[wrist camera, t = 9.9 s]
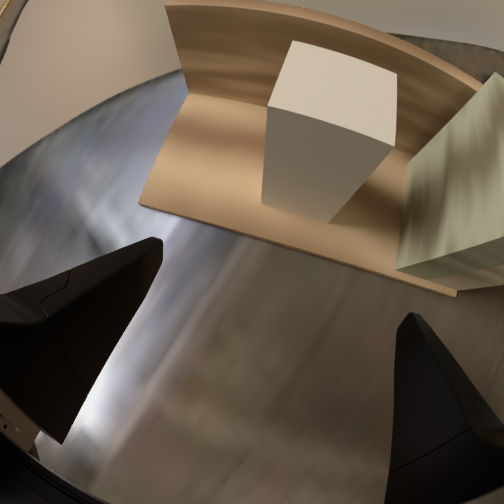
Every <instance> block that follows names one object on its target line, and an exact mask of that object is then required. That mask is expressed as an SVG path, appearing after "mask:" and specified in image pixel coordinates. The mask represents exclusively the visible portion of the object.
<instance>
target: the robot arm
mask: <svg viewBox="0 0 504 504" xmlns="http://www.w3.org/2000/svg"><path fill="white" fill-rule="evenodd" d="M162 261H163V241H162V240H161V239H159V238H155V237H149V238H147V239H144V240H141V241H139V242H136V243H134V244H131V245H128V246H126V247H123V248H121V249H118V250H116V251H113V252H111V253H108V254H106V255H103V256H101V257H98V258H96V259H93V260H91V261H89V262H86V263H84V264H81V265H79V266H77V267H74V268H72V269H71V270H67V271H65V272H62V273H60V274H58V275H55V276H53V277H50V278H48V279H45V280H42V281H40V282H37V283H34V284H31V285H28V286H26V287H23V288H20V289H17V290H14V291H12V292H9V293H6V294H1V295H0V504H110V503H108V502H106V501H104V500H102V499H100V498H98V497H96V496H95V495H93V494H91V493H89V492H87V491H85V490H84V489H82V488H80V487H79V486H77V485H75V484H73V483H72V482H70V481H69V480H67V479H65V478H64V477H62V476H61V475H59V474H58V473H56V472H55V471H53V470H52V469H50V468H49V467H47V466H46V465H45V464H43V463H42V462H40V460H39V456H38V453H37V449H36V446H35V442H34V441H35V439H36V437H37V435H38V433H39V432H40V430H41V431H42V432H44V433H45V434H46V435H48V436H49V437H51V438H52V439H54V440H55V441H57V442H58V443H60V444H61V445H62V444H63V442H64V440H65V438H66V436H67V434H68V432H69V430H70V428H71V426H72V424H73V422H74V421H75V419H76V417H77V415H78V413H79V411H80V409H81V407H82V405H83V403H84V401H85V400H86V398H87V395H88V394H89V392H90V390H91V388H92V386H93V385H94V383H95V381H96V379H97V377H98V376H99V374H100V372H101V370H102V369H103V367H104V365H105V363H106V362H107V360H108V358H109V356H110V355H111V353H112V351H113V350H114V348H115V346H116V345H117V343H118V341H119V340H120V338H121V336H122V335H123V333H124V331H125V330H126V328H127V326H128V325H129V323H130V321H131V320H132V318H133V317H134V315H135V313H136V312H137V310H138V309H139V307H140V305H141V304H142V302H143V300H144V299H145V297H146V295H147V293H148V291H149V289H150V287H151V285H152V283H153V281H154V278H155V276H156V274H157V272H158V270H159V268H160V266H161V264H162ZM469 380H470V379H469V378H468V376H467V375H466V374H465V372H464V371H463V369H462V368H461V367H460V365H459V364H458V363H457V361H456V360H455V358H454V357H453V356H452V354H451V353H450V352H449V351H448V349H447V348H446V347H445V345H444V344H443V343H442V341H441V340H440V339H439V338H438V336H437V335H436V334H435V332H434V331H433V330H432V329H431V327H430V326H429V325H428V324H427V322H426V321H425V320H424V319H423V318H422V316H421V315H420V314H417V313H413V312H410V313H408V314H407V316H406V317H405V319H404V320H403V321H402V323H401V324H400V325H399V327H398V329H397V333H396V350H395V364H394V416H393V434H392V448H391V458H390V467H389V472H390V473H389V475H388V482H387V489H386V496H385V502H384V504H504V425H503V424H502V423H501V421H500V420H499V419H498V417H497V416H496V415H495V413H494V412H493V411H492V409H491V408H490V407H489V405H488V404H487V403H486V401H485V400H484V399H483V397H482V396H481V395H480V393H479V392H478V390H477V389H476V388H475V386H474V385H473V383H472V382H471V381H469Z"/></svg>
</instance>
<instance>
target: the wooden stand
mask: <svg viewBox="0 0 504 504" xmlns="http://www.w3.org/2000/svg"><path fill="white" fill-rule="evenodd" d="M165 9H166V12H167V16H168V20H169V23H170V27H171V30H172V34H173V38H174V41H175V45H176V48H177V52H178V55H179V59H180V63H181V66H182V70H183V73H184V77H185V80H186V84H187V87H188V91H189V94H188V96H187V98H186V100H185V102H184V104H183V106H182V107H181V109H180V111H179V113H178V115H177V117H176V119H175V121H174V123H173V125H172V127H171V129H170V131H169V133H168V135H167V137H166V139H165V141H164V144H163V146H162V148H161V150H160V152H159V154H158V157H157V159H156V161H155V163H154V166H153V168H152V170H151V172H150V175H149V177H148V179H147V182H146V184H145V187H144V189H143V192H142V194H141V197H140V199H139V202H138V204H139V205H141V206H143V207H147V208H151V209H154V210H158V211H162V212H165V213H169V214H172V215H176V216H180V217H183V218H187V219H190V220H194V221H197V222H201V223H205V224H208V225H212V226H215V227H219V228H222V229H226V230H229V231H233V232H236V233H240V234H243V235H247V236H250V237H254V238H257V239H260V240H264V241H267V242H271V243H274V244H278V245H281V246H285V247H288V248H291V249H295V250H298V251H301V252H305V253H308V254H312V255H315V256H318V257H322V258H325V259H328V260H332V261H335V262H338V263H342V264H345V265H348V266H352V267H355V268H358V269H361V270H365V271H368V272H371V273H375V274H378V275H381V276H384V277H388V278H391V279H394V280H397V281H401V282H404V283H407V284H410V285H413V286H417V287H420V288H423V289H426V290H429V291H432V292H436V293H439V294H442V295H445V296H448V297H451V298H452V297H456V294H457V291H458V290H467V289H475V288H483V287H491V286H498V285H504V78H503V77H501V76H500V75H499V74H497V73H496V72H495V73H494V74H493V75H492V76H491V77H490V78H489V79H488V81H487V82H486V83H485V84H484V85H483V84H481V83H480V82H478V81H477V80H475V79H474V78H472V77H471V76H469V75H467V74H466V73H464V72H463V71H461V70H459V69H458V68H456V67H454V66H453V65H451V64H449V63H447V62H445V61H444V60H442V59H440V58H438V57H436V56H434V55H432V54H430V53H429V52H427V51H425V50H423V49H420V48H418V47H416V46H414V45H412V44H410V43H408V42H405V41H403V40H401V39H399V38H396V37H394V36H391V35H389V34H387V33H384V32H381V31H379V30H376V29H373V28H371V27H368V26H365V25H362V24H359V23H356V22H353V21H350V20H347V19H344V18H340V17H337V16H333V15H330V14H326V13H322V12H318V11H314V10H310V9H305V8H301V7H296V6H290V5H285V4H280V3H274V2H267V1H260V0H170V1H168V2H167V4H166V5H165ZM292 41H298V42H302V43H306V44H310V45H314V46H318V47H321V48H325V49H328V50H332V51H335V52H338V53H342V54H345V55H348V56H351V57H354V58H357V59H360V60H362V61H365V62H368V63H371V64H373V65H376V66H378V67H381V68H383V69H386V70H388V71H391V72H393V73H396V74H397V113H396V134H395V147H394V148H393V149H392V150H391V152H390V153H389V154H388V155H387V156H386V157H385V159H384V160H383V161H382V162H381V163H380V165H379V166H378V167H377V168H376V169H375V170H374V171H373V173H372V174H371V175H370V176H369V177H368V178H367V180H366V181H365V182H364V183H363V184H362V185H361V186H360V188H359V189H358V190H357V191H356V192H355V193H354V194H353V196H352V197H351V198H350V199H349V200H348V201H347V202H346V203H345V205H344V206H343V207H342V208H341V209H340V210H339V211H338V212H337V214H336V215H335V216H334V217H333V218H332V219H331V220H330V221H329V222H328V223H325V222H322V221H319V220H316V219H312V218H309V217H306V216H302V215H299V214H296V213H292V212H289V211H286V210H282V209H279V208H275V207H272V206H269V205H265V204H262V203H261V191H262V177H263V163H264V149H265V134H266V120H267V105H268V103H269V100H270V97H271V95H272V92H273V90H274V87H275V84H276V82H277V79H278V77H279V74H280V71H281V69H282V66H283V64H284V61H285V59H286V56H287V54H288V51H289V49H290V46H291V44H292Z"/></svg>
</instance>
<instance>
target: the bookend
mask: <svg viewBox="0 0 504 504" xmlns="http://www.w3.org/2000/svg"><path fill="white" fill-rule="evenodd" d="M396 113H397V74H396V73H393V72H391V71H388V70H386V69H383V68H381V67H378V66H376V65H373V64H371V63H368V62H365V61H362V60H360V59H357V58H354V57H351V56H348V55H345V54H342V53H338V52H335V51H332V50H328V49H325V48H321V47H318V46H314V45H310V44H306V43H302V42H298V41H292V44H291V46H290V49H289V51H288V54H287V56H286V59H285V61H284V64H283V66H282V69H281V71H280V74H279V77H278V79H277V82H276V84H275V87H274V90H273V92H272V95H271V97H270V100H269V103H268V105H267V120H266V134H265V149H264V163H263V177H262V191H261V203H262V204H265V205H269V206H272V207H275V208H279V209H282V210H286V211H289V212H292V213H296V214H299V215H302V216H306V217H309V218H312V219H316V220H319V221H322V222H325V223H328V222H329V221H330V220H331V219H332V218H333V217H334V216H335V215H336V214H337V212H338V211H339V210H340V209H341V208H342V207H343V206H344V205H345V203H346V202H347V201H348V200H349V199H350V198H351V197H352V196H353V194H354V193H355V192H356V191H357V190H358V189H359V188H360V186H361V185H362V184H363V183H364V182H365V181H366V180H367V178H368V177H369V176H370V175H371V174H372V173H373V171H374V170H375V169H376V168H377V167H378V166H379V165H380V163H381V162H382V161H383V160H384V159H385V157H386V156H387V155H388V154H389V153H390V152H391V150H392V149H393V148H394V147H395V134H396Z"/></svg>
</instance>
